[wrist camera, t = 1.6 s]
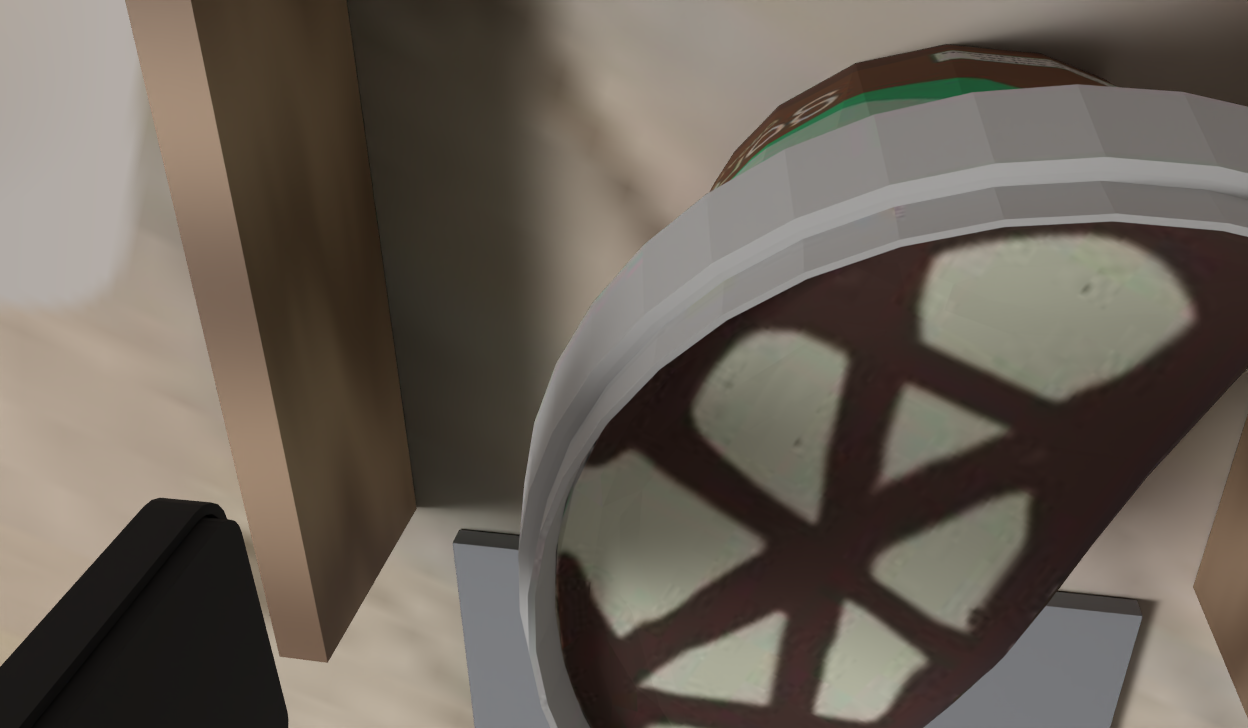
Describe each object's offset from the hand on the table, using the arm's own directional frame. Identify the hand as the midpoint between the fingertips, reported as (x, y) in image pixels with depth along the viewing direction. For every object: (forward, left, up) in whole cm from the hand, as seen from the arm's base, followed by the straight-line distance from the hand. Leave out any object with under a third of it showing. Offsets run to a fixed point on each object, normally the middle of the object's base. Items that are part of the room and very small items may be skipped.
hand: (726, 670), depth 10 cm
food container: (0, 0, -12) cm, 12 cm away
